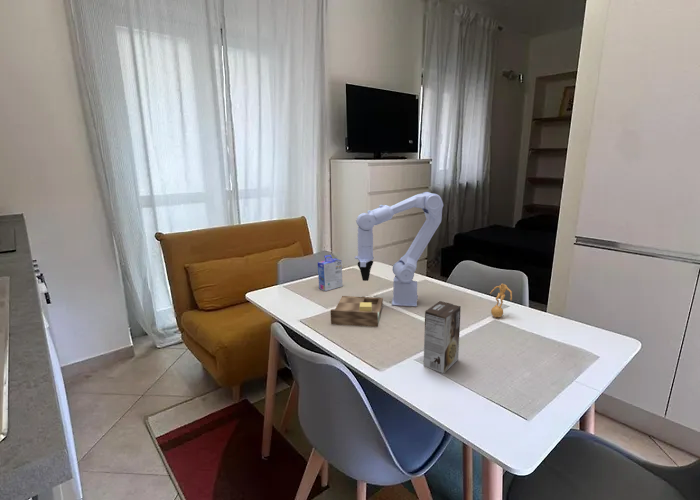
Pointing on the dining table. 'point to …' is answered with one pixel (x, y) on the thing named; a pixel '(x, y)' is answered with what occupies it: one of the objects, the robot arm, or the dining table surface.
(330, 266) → the ink cartridge box
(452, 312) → the coffee box
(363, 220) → the robot arm
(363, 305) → the cube
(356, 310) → the board
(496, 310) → the figurine
